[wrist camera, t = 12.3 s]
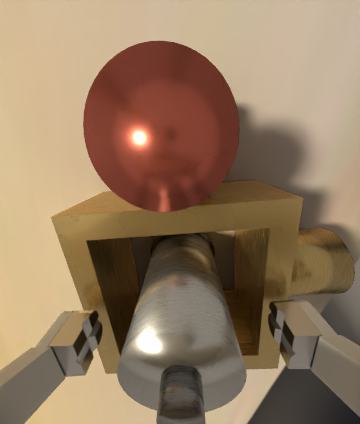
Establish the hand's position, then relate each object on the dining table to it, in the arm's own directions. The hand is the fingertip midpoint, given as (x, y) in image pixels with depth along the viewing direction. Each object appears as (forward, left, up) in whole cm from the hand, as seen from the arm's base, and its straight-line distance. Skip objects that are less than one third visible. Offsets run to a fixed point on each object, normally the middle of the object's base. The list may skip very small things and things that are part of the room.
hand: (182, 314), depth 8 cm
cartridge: (0, 0, -6) cm, 6 cm away
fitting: (+2, +2, -6) cm, 6 cm away
